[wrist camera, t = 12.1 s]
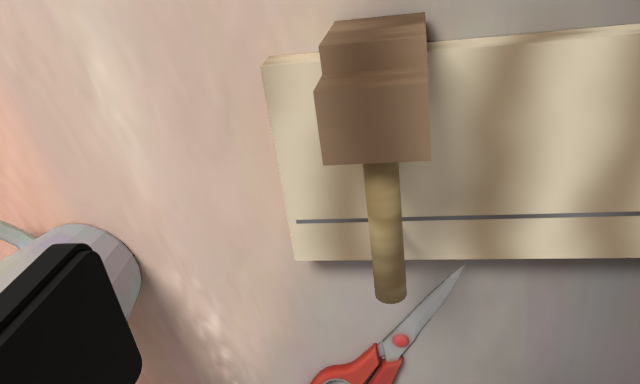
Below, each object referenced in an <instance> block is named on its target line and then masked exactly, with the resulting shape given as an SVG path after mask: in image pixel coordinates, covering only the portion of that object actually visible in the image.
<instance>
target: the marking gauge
mask: <svg viewBox="0 0 640 384" xmlns="http://www.w3.org/2000/svg"><path fill="white" fill-rule="evenodd" d="M319 54H320V61H321V69H322V76H321V78H320V80H319V81H318V83H317V85H316V87H315V89H314V91H313V95H314V103H315V110H316V117H317V125H318V132H319V139H320V147H321V154H322V161H323V166H328V165H351V164H363V173H364V183H365V193H366V204H367V214H368V224H369V234H370V244H371V255H372V265H373V275H374V285H375V295H376V298H377V299H378V300H379V301H381V302H383V303H386V304H395V303H398V302H401V301H402V300H404V299H405V297H406V295H407V291H406V275H405V259H404V243H403V227H402V211H401V195H400V179H399V163H398V162H417V161H431V149H430V116H429V84H428V67H427V37H426V22H425V12H422V13H412V14H403V15H393V16H383V17H373V18H363V19H353V20H343V21H335V22H334V24H333V25H332V27H331V28H330V30H329V31H328V33H327V35H326V36H325V38H324V39H323V41H322V42H321V44H320V45H319Z"/></svg>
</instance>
